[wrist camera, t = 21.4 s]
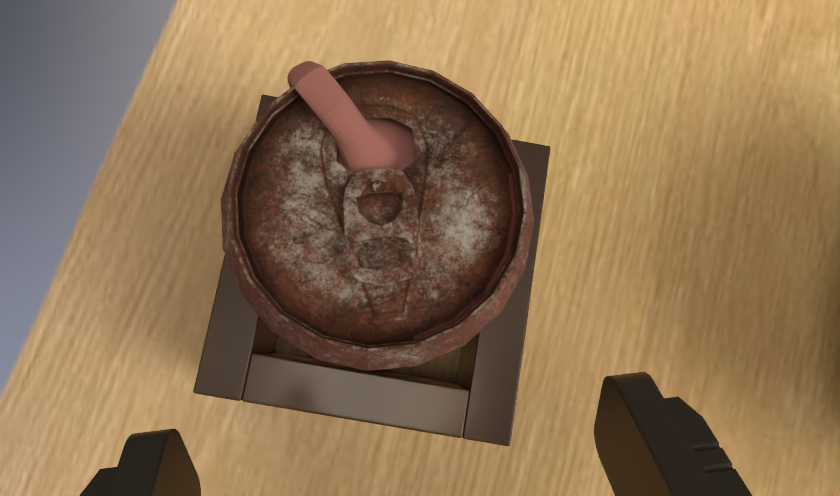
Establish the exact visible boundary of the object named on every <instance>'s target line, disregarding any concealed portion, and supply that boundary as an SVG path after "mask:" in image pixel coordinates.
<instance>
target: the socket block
mask: <svg viewBox="0 0 840 496" xmlns="http://www.w3.org/2000/svg"><path fill="white" fill-rule="evenodd" d="M277 98H278V97H273V96H268V95H262V96H261V100H260V105H259V109H258V113H257V118H256V121H257V119H258V118H259V116H260V115H261V114H262V112H263V111H264V109H265V108H266V107H267V106H268V105H269V104H270V103H272V102H273V101H274V100H276V99H277ZM512 142H513V145H514V147H515V149H516V151H517V153H518V155H519V157H520V159H521V161H522V164H523V166H524V168H525V170H526V172H527V174H528V177H529V185H530V193H531V200H532V208H533V216H534V227H533V232H532V237H531V243H530V248H529V253H528V258H527V264H526V269H525V271H524V273H523V274H522V276H521V278H520V280H519V282H518V283H517V285H516V287H515V289H514V291H513V292H512V294H511V296H510V298H509V299H508V301H507V303H506V305H505V307H504V308H503V310H502V312H501V313H500V314H499V315H497V316H496V317H495V318H494V319H493V320H492V321H491V322H490V323H489V324H488V325H486V326H485V327H484V328H483V329H482V330H481V331H480V332H479V333H478V334H477V335H475V336H474V337H473V338H472V339H471V340H470V341H469V342H468V343H467V344H466V345H464V346H462V352H461V359H460V365H459V372H458V378H457V384H455V383H450V382H444V381H439V380H433V379H427V378H421V377H415V376H409V375H403V374H398V373H392V372H386V371H380V370H370V371H366V370H362V369H357V368H353V367H348V366H344V365H339V364H335V363H331V362H326V361H321V360H315V359H310V358H304V357H298V356H292V355H286V354H280V353H273V352H274V347H275V343H276V338H277V335H276V334H274V333H273V332H272V331H271V330H270V328H269V327H268V326H267V325H266V324H265V322H264V321H263V320H262V319H261V318H260V316H259V315H258V314H257V313H256V312H255V311H254V309H253V308H252V307H251V306H250V305H249V303H248V302H247V301H246V300H245V299H244V297H243V296H242V295H241V293H240V291H239V288H238V286H237V283H236V280H235V278H234V275H233V273H232V270H231V268H230V265H229V262H228V260H227V257H226V255H225V256H224V261H223V265H222V269H221V274H220V278H219V282H218V286H217V291H216V295H215V299H214V304H213V308H212V312H211V317H210V321H209V325H208V330H207V334H206V338H205V343H204V347H203V351H202V356H201V360H200V364H199V369H198V373H197V377H196V382H195V386H194V390H193V391H194V393H196V394H202V395H208V396H214V397H219V398H225V399H231V400H237V401H240V400H242V401H244V402H249V403H255V404H261V405H267V406H273V407H279V408H285V409H291V410H297V411H303V412H309V413H315V414H321V415H326V416H332V417H338V418H344V419H350V420H356V421H362V422H368V423H374V424H380V425H386V426H392V427H398V428H404V429H410V430H416V431H421V432H427V433H433V434H439V435H445V436H451V437H457V438H462V437H463V438H464V439H468V440H474V441H480V442H486V443H492V444H498V445H504V446H510V442H511V435H512V427H513V420H514V412H515V405H516V398H517V390H518V383H519V376H520V368H521V361H522V353H523V346H524V339H525V331H526V324H527V317H528V309H529V302H530V294H531V287H532V280H533V272H534V265H535V258H536V250H537V243H538V235H539V228H540V221H541V213H542V206H543V199H544V191H545V184H546V176H547V169H548V162H549V154H550V147H549V146H545V145H539V144H533V143H528V142H522V141H517V140H512Z"/></svg>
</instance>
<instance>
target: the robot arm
mask: <svg viewBox="0 0 840 496" xmlns="http://www.w3.org/2000/svg"><path fill="white" fill-rule="evenodd" d="M594 437H595V444H596V448H597V452H598V455H599V458H600V461H601V463H602V465H603V468H604V470H605V472H606V475H607V477H608V480H609V482H610V484H611V487H612V489H613V491H614V494H615V496H752V495H751V493H750V491H749V490H748V488H747V487H746V485H745V484H744V482H743V480H742V479H741V477H740V476H739V474H738V472H737V471H736V469H733V467H732V463H731V461H730V460H729V458H728V457H727V455H726V453H725V452H724V450H723V449H722V448H720V447H719V442H718V441H717V439H716V437H715V436H714V434H713V433H712V431H711V430H710V428H709V426H708V425H707V423H706V422H705V420H704V418H703V417H702V416H701V415H699V414H698V413H697V412H696V411H695V410H694V409H692V408H691V407H690V406H689V405H688V404H686V403H685V402H684V401H683V400H682V399H681V398H679V397H673V398H665V399H664V398H663V396H662V394H661V393H660V391H659V389H658V388H657V386H656V384H655V382H654V381H653V379H652V378H651V376H650V375H649V374H647V373H646V372H638V373H630V374H622V375H614V376H607V377H605V378H604V380H603V384H602V389H601V394H600V399H599V405H598V410H597V415H596V420H595V425H594ZM80 496H201V488H200V481H199V477H198V474H197V472H196V470H195V468H194V465H193V463H192V461H191V458H190V456H189V454H188V452H187V449H186V447H185V445H184V442H183V440H182V438H181V436H180V434H179V432H178V431H177V430H176V429H168V430H160V431H152V432H143V433H135V434H132V435H130V436H129V438H128V439H127V441H126V443H125V445H124V448H123V451H122V454H121V457H120V460H119V463H118V466H117V467H113V468H105V469H100V470H99V471H98V473H97V474H96V475H95V476H94V478H93V479H92V480H91V482H90V483H89V484H88V485H87V487H86V488H85V489H84V490H83V492H82V493H81V494H80Z"/></svg>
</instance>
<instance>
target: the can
mask: <svg viewBox="0 0 840 496" xmlns="http://www.w3.org/2000/svg"><path fill="white" fill-rule="evenodd" d="M288 83H289V86H290V89H289V90H287V91H286V92H285V93H283V94H282V95H281V96H280V97H278V98H277V99H276V100H274V101H273V102H272V103H270V104H269V105H268V106H267V107H266V108H265V109H264V111H263V112H262V114H261V115H260V116H259V118H258V119H257V121H256V122H255V124H254V125H253V127H252V128H251V129H250V131H249V132H248V134H247V135H246V137H245V138H244V140H243V141H242V143H241V144H240V146H239V148H238V149H237V150H236V152H235V153H234V157H233V160H232V164H231V167H230V170H229V174H228V177H227V181H226V184H225V188H224V191H223V194H222V198H221V212H222V237H223V250H224V252H225V255H226V257H227V260H228V262H229V265H230V268H231V270H232V273H233V275H234V278H235V280H236V283H237V286H238V288H239V291H240V293H241V295H242V296H243V297H244V299H245V300H246V301H247V302H248V303H249V305H250V306H251V307H252V308H253V309H254V311H255V312H256V313H257V314H258V315H259V316H260V318H261V319H262V320H263V321H264V322H265V324H266V325H267V326H268V327H269V328H270V330H271V331H272V332H273V333H274V334H276V335H278V336H279V337H281V338H283V339H284V340H286V341H287V342H289V343H291V344H292V345H294V346H296V347H297V348H299V349H301V350H302V351H304V352H306V353H307V354H309V355H311V356H312V357H314V358H316V359H317V360H322V361H326V362H331V363H335V364H339V365H344V366H348V367H353V368H357V369H362V370H366V371H370V370H381V369H391V368H401V367H411V366H419V365H421V364H424V363H426V362H428V361H430V360H433V359H435V358H437V357H439V356H442V355H444V354H446V353H448V352H451V351H453V350H455V349H457V348H460V347H462V346H464V345H466V344H467V343H468V342H469V341H470V340H471V339H472V338H473V337H474V336H475V335H477V334H478V333H479V332H480V331H481V330H482V329H483V328H484V327H485V326H486V325H488V324H489V323H490V322H491V321H492V320H493V319H494V318H495V317H496V316H497V315H499V314H500V313H501V312H502V310H503V308H504V307H505V305H506V303H507V301H508V299H509V298H510V296H511V294H512V292H513V291H514V289H515V287H516V285H517V283H518V282H519V280H520V278H521V276H522V274H523V273H524V271H525V269H526V264H527V258H528V253H529V248H530V243H531V237H532V232H533V227H534V216H533V208H532V200H531V193H530V185H529V177H528V174H527V172H526V170H525V168H524V166H523V164H522V161H521V159H520V157H519V155H518V153H517V151H516V149H515V147H514V145H513V142H512V140H511V138H510V136H509V134H508V133H507V132H506V131H505V130H504V128H503V126H502V125H501V124H500V123H499V122H498V121H497V119H496V118H495V117H494V116H493V115H492V114H491V113H490V112H489V111H488V110H487V109H486V108H485V107H484V105H483V104H482V103H481V102H480V101H479V100H478V99H477V98H476V97H475V96H474V95H473V94H472V93H471V92H469V91H467V90H466V89H464V88H462V87H460V86H459V85H457V84H455V83H454V82H452V81H450V80H448V79H447V78H445V77H443V76H441V75H440V74H438V73H436V72H435V71H432V70H428V69H423V68H419V67H415V66H411V65H406V64H402V63H398V62H393V61H375V62H359V63H344V64H341V65H339V66H336V67H333V68H331V69H328V70H327V69H326V68H325V67H323V66H321V65H319V64H316V63H314V62H311V61H307V62H303V63H301V64H299V65H297V66H295V67H293V68H292V69H291V70H290V72H289V74H288Z"/></svg>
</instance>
